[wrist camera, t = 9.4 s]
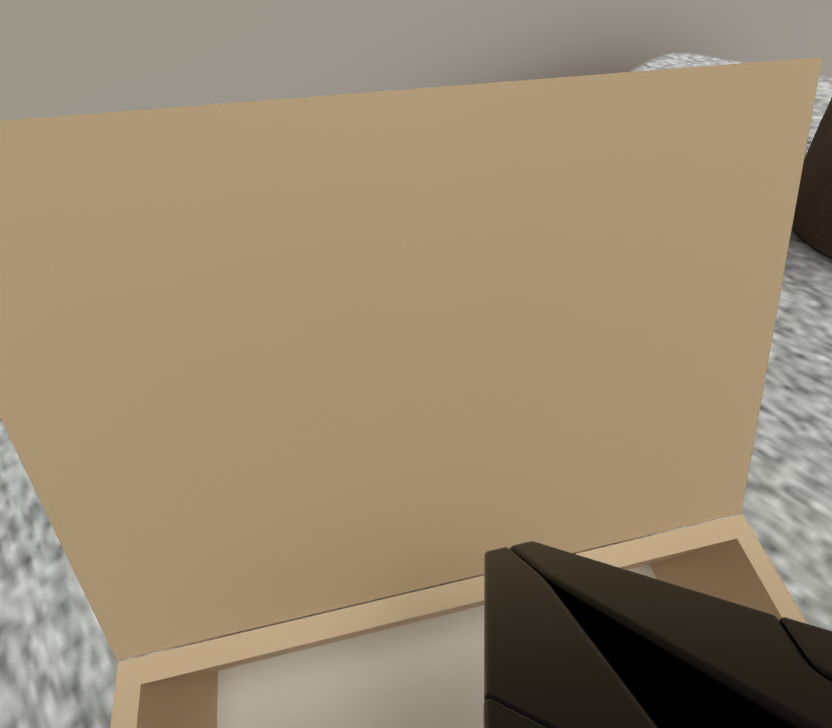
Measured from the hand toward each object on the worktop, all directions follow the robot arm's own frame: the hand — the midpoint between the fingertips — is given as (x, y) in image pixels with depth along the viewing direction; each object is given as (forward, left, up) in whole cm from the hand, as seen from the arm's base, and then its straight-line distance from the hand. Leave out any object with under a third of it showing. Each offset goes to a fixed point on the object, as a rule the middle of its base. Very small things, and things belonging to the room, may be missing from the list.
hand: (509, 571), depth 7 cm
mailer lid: (+3, +3, -1) cm, 4 cm away
